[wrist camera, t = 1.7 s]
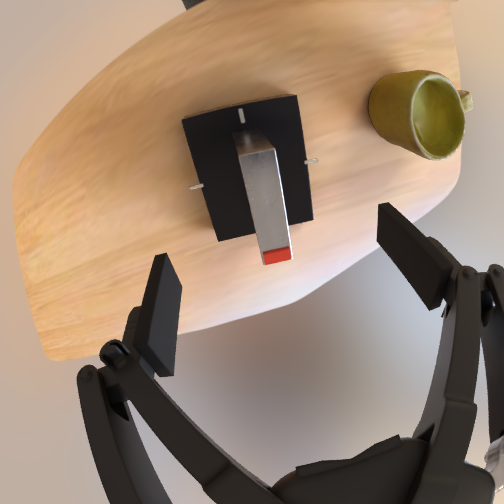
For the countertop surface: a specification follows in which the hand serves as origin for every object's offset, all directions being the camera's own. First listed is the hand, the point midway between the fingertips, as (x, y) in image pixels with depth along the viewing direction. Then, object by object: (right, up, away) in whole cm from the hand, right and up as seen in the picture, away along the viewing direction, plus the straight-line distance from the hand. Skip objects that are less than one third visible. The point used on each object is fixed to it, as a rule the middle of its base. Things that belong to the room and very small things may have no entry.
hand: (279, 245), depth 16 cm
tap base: (-2, +9, +12) cm, 16 cm away
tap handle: (-1, +7, +10) cm, 13 cm away
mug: (+17, +17, +9) cm, 26 cm away
